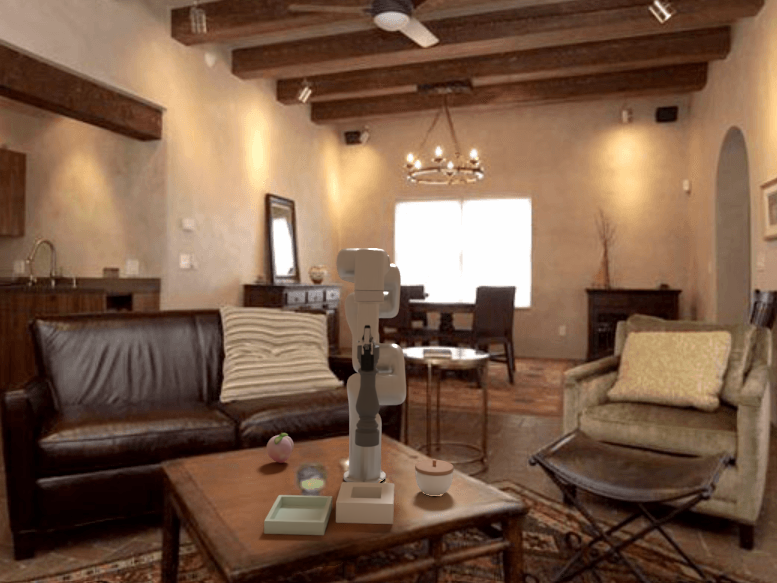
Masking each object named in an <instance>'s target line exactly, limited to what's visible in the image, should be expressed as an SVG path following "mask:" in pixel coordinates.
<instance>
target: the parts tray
mask: <svg viewBox="0 0 777 583" xmlns="http://www.w3.org/2000/svg"><path fill="white" fill-rule="evenodd" d="M332 510H333V496H331V495H326V496H325V495H297V494H296V495H295V494H293V495H292V494H279V495H278V496H277V497H276V499H275V501H274V502H273V505H272V507H271V509H270V510H269V512H268V513H267V515H266V517H265V519H264V523H263V524H264V526H263V529H264V530H263V534H264V535H265V534H266V535H267V534H269V535H270V534H271V535H304V536H305V535H307V536H310V535H311V536H324V535H325V533H326V528H327V526H328V524H329V519H330V516H331V513H332Z"/></svg>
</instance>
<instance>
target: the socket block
mask: <svg viewBox="0 0 777 583" xmlns="http://www.w3.org/2000/svg"><path fill="white" fill-rule="evenodd" d="M394 509H395V483H393V482H382V483H364V482H346V481H341V485H340V488H339V491H338V494H337V498H336V502H335V523H337V524H341V523H342V524H343V523H344V524H373V525H374V524H378V525H380V524H381V525H393V524H394Z"/></svg>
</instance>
